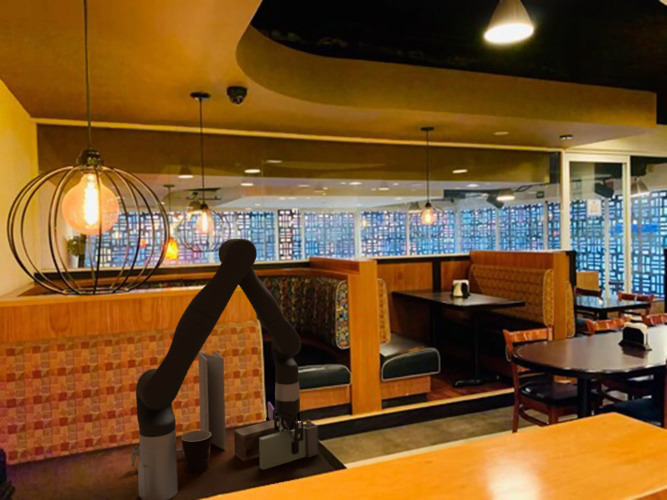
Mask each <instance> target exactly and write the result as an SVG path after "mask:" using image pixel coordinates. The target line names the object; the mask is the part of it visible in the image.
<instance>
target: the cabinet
mask: <svg viewBox="0 0 667 500" xmlns="http://www.w3.org/2000/svg"><path fill="white" fill-rule="evenodd" d="M311 422H312V420H310V419H307V420H306V421H305V424H306V428H310V427H311ZM278 423H279V422H278ZM278 423H277V426H278ZM233 432H234V434H233V435H234V456H236V457H237V458H238V459H239V460H241V461H242V462H246V461H250V460H253V459H255V458H260V455H259V438H260V437H264V436H268V435H271V434H275V433H277V430H275V429H274V420H271V421H265V422H259V423H256V424H252V425H248V426H245V427H240V428H236V429H234V431H233Z"/></svg>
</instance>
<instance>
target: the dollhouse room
mask: <svg viewBox="0 0 667 500" xmlns="http://www.w3.org/2000/svg"><path fill="white" fill-rule="evenodd" d="M274 411H276V408H275V407H274V406H273V404H272V403H271V402H270V401H267V416H266V417H265V420H266V421H265V422H267V421H271V420H274ZM297 419H298V421H302V420H301V410H300V411H299V412H298V413H297Z"/></svg>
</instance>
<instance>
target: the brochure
mask: <svg viewBox="0 0 667 500" xmlns="http://www.w3.org/2000/svg"><path fill="white" fill-rule="evenodd" d="M197 356H198V357H197V358H198V382H199V383H198V384H199V385H198V388H199V392H198V393H199V395H198V396H199V427H200V428H199V429H200V430H204V431H209V432H210V433H211V443H210V444H212V445H214V446H216V447H217V448H220V449H221V450H224V451H226V450H227V447H226V445H227V443H226V441H227V440H226V439H227V438H226V404H225V402H226V400H225V365H224V357H223V356H222V355H221V354H220V353H218V351H217V350H215V349H213V354H210V353H207V352H203V351H200V352H199V353H198V355H197Z"/></svg>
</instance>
